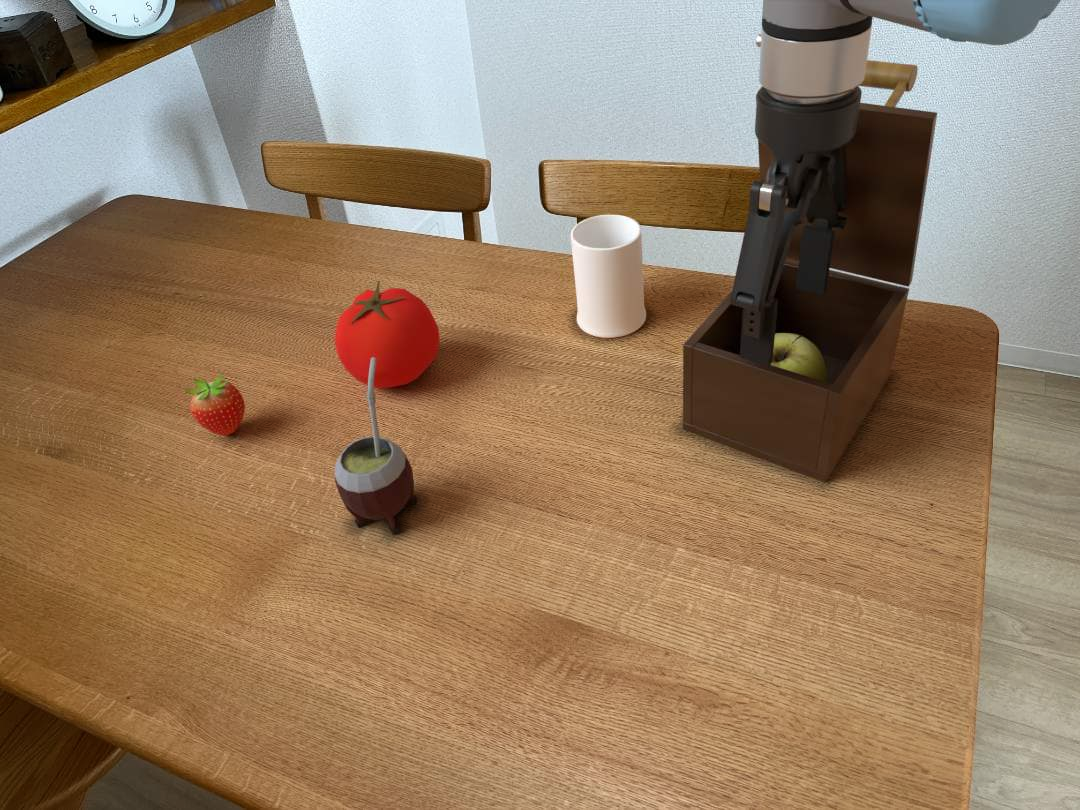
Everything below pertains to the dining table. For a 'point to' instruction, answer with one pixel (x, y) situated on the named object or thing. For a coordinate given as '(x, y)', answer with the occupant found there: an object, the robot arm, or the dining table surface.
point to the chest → (787, 397)
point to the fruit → (217, 406)
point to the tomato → (387, 337)
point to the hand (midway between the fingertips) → (784, 323)
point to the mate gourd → (374, 474)
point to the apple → (798, 356)
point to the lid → (880, 182)
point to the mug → (608, 275)
